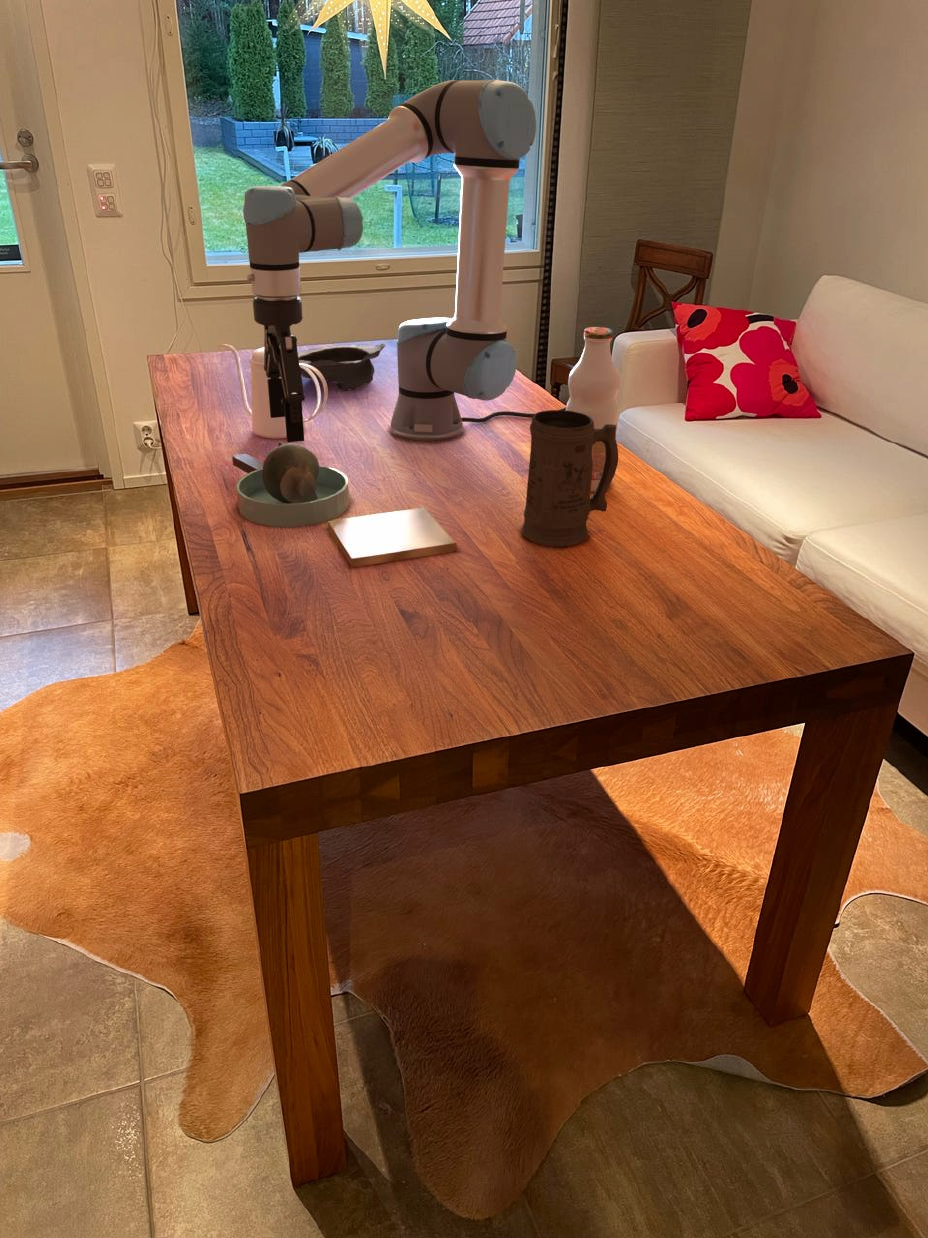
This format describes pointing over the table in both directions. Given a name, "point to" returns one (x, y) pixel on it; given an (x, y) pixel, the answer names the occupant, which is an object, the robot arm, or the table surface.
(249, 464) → the pan handle
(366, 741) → the table surface
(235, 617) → the table surface
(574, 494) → the beer stein
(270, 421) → the coffeepot
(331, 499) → the pan
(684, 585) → the table surface
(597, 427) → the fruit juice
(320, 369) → the stone bowl
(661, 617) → the table surface
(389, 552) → the cutting board
